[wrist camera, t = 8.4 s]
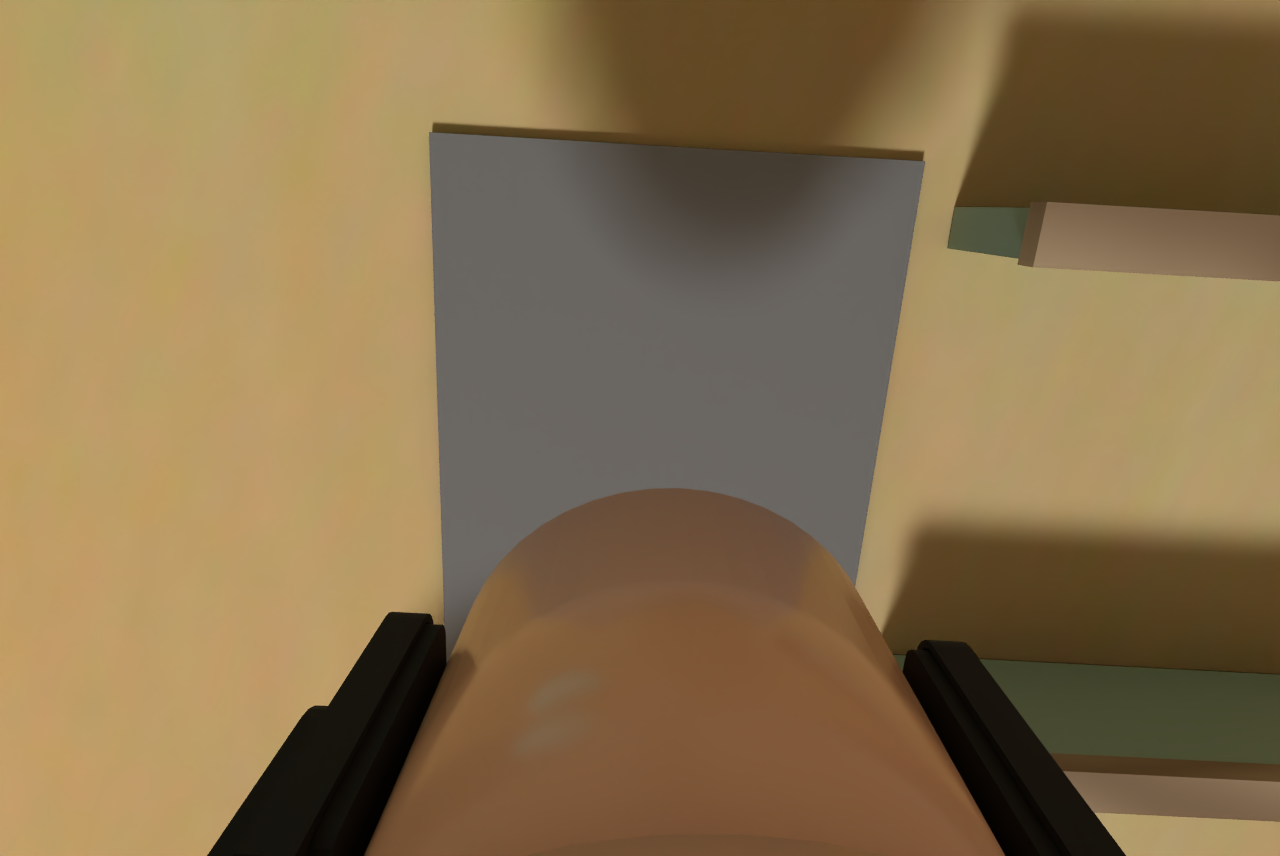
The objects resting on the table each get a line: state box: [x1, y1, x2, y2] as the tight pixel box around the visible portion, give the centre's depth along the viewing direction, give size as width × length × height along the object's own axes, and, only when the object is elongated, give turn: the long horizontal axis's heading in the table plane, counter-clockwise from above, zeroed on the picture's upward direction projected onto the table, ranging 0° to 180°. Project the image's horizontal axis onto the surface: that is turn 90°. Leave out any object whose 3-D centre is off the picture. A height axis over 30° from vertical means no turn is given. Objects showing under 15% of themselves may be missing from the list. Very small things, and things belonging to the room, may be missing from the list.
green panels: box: [893, 202, 1280, 822], centre depth 18 cm, size 14×14×5 cm
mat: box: [429, 132, 925, 663], centre depth 20 cm, size 16×12×1 cm
